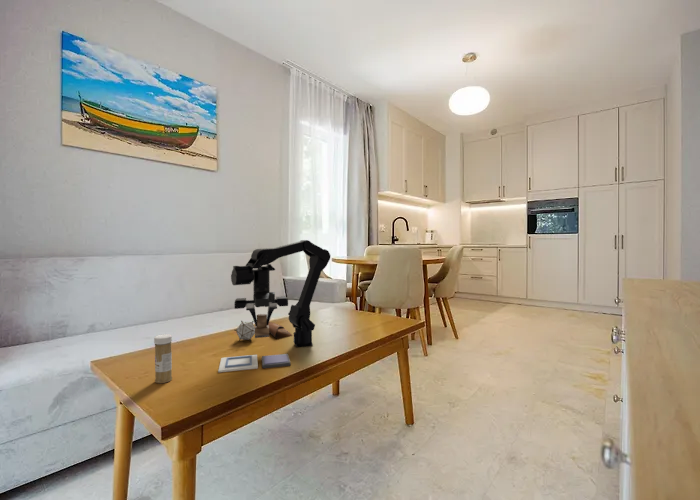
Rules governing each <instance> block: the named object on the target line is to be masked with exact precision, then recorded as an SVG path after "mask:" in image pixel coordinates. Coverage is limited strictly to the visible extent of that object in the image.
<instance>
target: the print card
mask: <svg viewBox="0 0 700 500" xmlns="http://www.w3.org/2000/svg"><path fill="white" fill-rule="evenodd" d="M255 369H256V370H257V369H259V364H258V354H249V355H247V354H246V355H239V356H226V357H221V358H220V362H219V366H218V371H217V372H218V373H225V372H226V373H227V372H236V371H246V370H255Z"/></svg>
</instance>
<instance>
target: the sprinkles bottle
mask: <svg viewBox="0 0 700 500" xmlns="http://www.w3.org/2000/svg"><path fill="white" fill-rule="evenodd" d="M172 337H173V336H172V334H167V333H165V334H159V335H156V336H154V337H153V343H154V370H155V378H154V381H155V383H156V384H164V383H168V382H170V381H172V379H173V376H172V375H173V374H172V370H173V369H172V366H173V363H172V361H173V359H172V356H173V355H172V354H173V353H172V352H173V351H172V341H173V339H172Z"/></svg>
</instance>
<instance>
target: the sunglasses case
mask: <svg viewBox="0 0 700 500" xmlns="http://www.w3.org/2000/svg"><path fill="white" fill-rule="evenodd" d="M268 325H269V335H270V334H271V336H273V337H274V338H276V339H277V340H278V339H283V338H289V337H293V334H292V333H291V332H290V331H289V330H287V329H286V328H285V327H284V326H283V325H280V324H279V323H276V322H271V321H269V324H268Z"/></svg>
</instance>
